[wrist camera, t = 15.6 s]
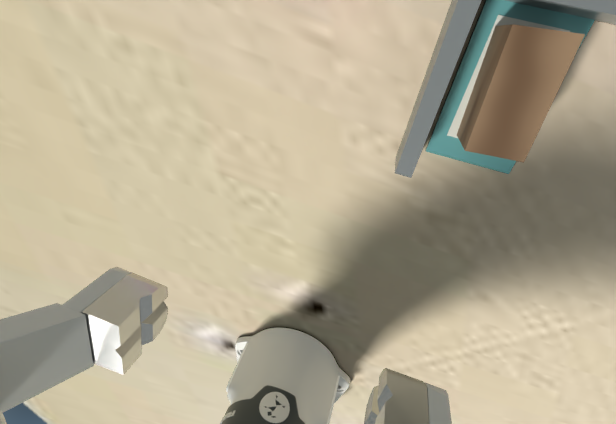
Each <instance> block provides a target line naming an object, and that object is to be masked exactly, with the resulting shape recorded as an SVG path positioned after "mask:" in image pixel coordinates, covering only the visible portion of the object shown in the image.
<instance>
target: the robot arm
mask: <svg viewBox="0 0 616 424" xmlns="http://www.w3.org/2000/svg"><path fill="white" fill-rule="evenodd" d="M167 297H168V289H167V287H166V286H164V285H161V284H159V283H156V282H154V281H152V280H149V279H147V278H144V277H142V276H139V275H137V274H134V273H132V272H129V271H127V270H124V269H121V268H119V267H115V268H112V269H109V270H108V271H107V272H105V273H104V274H103V275H101V276H100V277H99V278H97V279H96V280H95V281H93V282H92V283H91V284H89V285H88V286H87V287H85V288H84V289H83V290H81V291H80V292H79V293H77V294H76V295H75V296H73V297H72V298H71V299H69V300H68V301H67V302H65V303H64V304H63V305H61V304H58V303H56V304H53V305H49V306H46V307H42V308H39V309H35V310H32V311H28V312H25V313H21V314H18V315H15V316H11V317H8V318H4V319H1V320H0V424H7V423H6V421H5V418H4V416H3V414H2V413H3V412H5V411H7V410H9V409H11V408H13V407H15V406H16V405H18V404H20V403H22V402H24V401H26V400H28V399H30V398H32V397H34V396H36V395H38V394H40V393H42V392H44V391H46V390H48V389H49V388H51V387H53V386H55V385H57V384H59V383H61V382H63V381H65V380H67V379H69V378H71V377H73V376H75V375H77V374H79V373H81V372H82V371H84V370H86V369H88V368H90V367H92V366H93V365H94V364H96V365H99V366H101V367H104V368H107V369H109V370H112V371H114V372H117V373H120V374H122V375H124V374H125V373H126V372H127V370H128V369H129V368H130V367H131V366H132V365H133V363H134V362H135V361H136V360H137V359H138V358H139V357H140V355H141V354H142V345H144V344H146V343H149V342H151V341H153V340H154V339H155V338H156V337H157V335H158V334H159V333H160V331H161V330H162V328H163V326H164V324H165V322H166V319H167V315H168V307H167V306H166V304H165V303H164V300H165V299H166V298H167ZM235 349H236V357H237V365H236V367H235V369H234V372H233V374H232V376H231V378H230V380H229V383H228V385H227V388H226V391H227V392H228V394H227V396H228V400H229V402H230V407H229V408H228V410H227V412H226V414H225V416H224V417H223V419H222V421H221V423H220V424H329V422H330V418H331V414H332V409H333V405H334V403H335V402H336V401H337V400H338V399H339V398H340V397H341V395H342V394H343V393H344V392H345V391H346V390H347V389H348V387H349V385H350V381H351V380H350V378H349V376H348V375H347V374H346V373H345V372H344V371H342V370H341V369H340V368H339V366H338V365H337V363H336V360H335V358H334V357H333V355H332V353H331V352H330V351H329V350H328V349H327V348H326V347H325V346H324V345H323V344H322V343H321V342H319V341H318V340H317V339H315V338H313V337H312V336H310V335H308V334H306V333H303V332H301V331H297V330H294V329H289V328H269V329H266V330H263V331H261V332H259V333H257V334H255V335H253V336H246V337H240V338H238V339H237V341H236V344H235ZM93 363H94V364H93ZM364 424H452V421H451V413H450V405H449V397H448V394H447V392H446V390H444V389H441V388H438V387H435V386H433V385H430V384H427V383H424V382H423V381H420V380H418V379H415V378H412V377H409V376H406V375H404V374H401V373H398V372H395V371H393V370H390V369H387V368H385V369H384V370H383V371H382V373H381V375H380V377H379V386H376V387H374V388H373V390H372V393H371V395H370V398H369V401H368V404H367V408H366V414H365V421H364Z"/></svg>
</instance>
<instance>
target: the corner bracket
mask: <svg viewBox="0 0 616 424" xmlns="http://www.w3.org/2000/svg"><path fill="white" fill-rule="evenodd" d="M480 3H481V0H452V2H451V5H450V8H449V10H448V13H447V16H446V19H445V22H444V24H443V27H442V30H441V33H440V36H439V38H438V41H437V44H436V47H435V49H434V52H433V55H432V58H431V61H430V63H429V66H428V69H427V72H426V75H425V77H424V80H423V83H422V86H421V89H420V91H419V94H418V97H417V100H416V103H415V105H414V108H413V111H412V114H411V117H410V119H409V122H408V125H407V128H406V130H405V133H404V136H403V139H402V142H401V144H400V147H399V150H398V153H397V156H396V163H395V173H396V174H400V175H403V176H407V177H410V178H411V177H412V174H413V172H414V169H415V167H416V164H417V162H418V159H419V157H420V154H421V152H422V149H423V147H424V144H425V142H426V139H427V137H428V134H429V131H430V129H431V126H432V124H433V121H434V119H435V116H436V114H437V111H438V109H439V106H440V104H441V101H442V99H443V96H444V94H445V91H446V89H447V86H448V84H449V81H450V78H451V76H452V73H453V71H454V68H455V66H456V63H457V61H458V58H459V56H460V53H461V51H462V48H463V46H464V43H465V41H466V38H467V36H468V33H469V31H470V28H471V25H472V23H473V20H474V18H475V15H476V13H477V10H478V8H479V5H480ZM594 21H600V22H605V23H609V24H614V25H616V0H486V1H485V4H484V6H483V9H482V11H481V14H480V16H479V19H478V21H477V24H476V26H475V29H474V31H473V34H472V36H471V39H470V41H469V44H468V46H467V49H466V51H465V54H464V56H463V59H462V61H461V64H460V66H459V69H458V71H457V74H456V76H455V79H454V81H453V84H452V86H451V89H450V91H449V93H448V96H447V98H446V101H445V103H444V106H443V108H442V111H441V113H440V116H439V118H438V121H437V123H436V126H435V128H434V131H433V133H432V136H431V138H430V141H429V143H428V146H427V148H426V151H427V152H430V153H434V154H438V155H441V156H445V157H449V158H452V159H456V160H459V161H463V162H467V163H470V164H474V165H478V166H481V167H485V168H489V169H492V170H496V171H500V172H503V173H507V174H509V173H510V171H511V169H512V168H513V166H514V164H515V162H516V161H514V160H509V159H504V158H499V157H494V156H489V155H484V154H479V153H474V152H469V151H465V150H464V148H463V146H462V144H461V142H460V140H459V139H458V137H457V132H458V129H459V127H460V124H461V121H462V118H463V115H464V113H465V110H466V107H467V104H468V101H469V99H470V96H471V93H472V90H473V87H474V85H475V82H476V79H477V76H478V73H479V71H480V68H481V65H482V62H483V59H484V57H485V54H486V51H487V48H488V45H489V43H490V40H491V37H492V34H493V31H494V29H495V26H500V25H511V24H514V25H521V26H529V27H536V28H543V29H550V30H558V31H565V32H572V33H580V34H585V36H584V38H583V40H584V39H585V37H586V35H587V33H588V32H589V30H590V28H591V26H592V24H593V23H594ZM583 40H582V42H583ZM582 42H581V44H582ZM581 44H580V46H581ZM580 46H579V48H580ZM579 48H578V49H579ZM577 51H578V50H577ZM576 53H577V52H576ZM575 55H576V54H575Z"/></svg>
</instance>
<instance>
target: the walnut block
mask: <svg viewBox="0 0 616 424" xmlns="http://www.w3.org/2000/svg"><path fill="white" fill-rule="evenodd" d="M584 36H585V34H580V33H572V32H565V31H558V30H550V29H543V28H536V27H529V26H521V25H514V24H511V25H500V26H495V29H494V31H493V34H492V37H491V40H490V43H489V45H488V48H487V51H486V54H485V57H484V59H483V62H482V65H481V68H480V71H479V73H478V76H477V79H476V82H475V85H474V87H473V90H472V93H471V96H470V99H469V101H468V104H467V107H466V110H465V113H464V115H463V118H462V121H461V124H460V127H459V129H458V132H457V137H458V139H459V140H460V142H461V144H462V146H463V148H464V150H465V151H469V152H474V153H479V154H484V155H489V156H494V157H499V158H504V159H509V160H514V161H520V162H524V161H525V159H526V157H527V155H528V153H529V150H530V148H531V146H532V144H533V142H534V140H535V138H536V136H537V134H538V132H539V130H540V127H541V125H542V123H543V121H544V119H545V117H546V115H547V113H548V111H549V109H550V107H551V105H552V102H553V100H554V98H555V96H556V94H557V92H558V90H559V88H560V86H561V84H562V82H563V80H564V77H565V75H566V73H567V71H568V69H569V67H570V65H571V63H572V61H573V59H574V57H575V54H576V52H577V50H578V48H579V46H580V44H581V42H582V40H583V38H584Z"/></svg>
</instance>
